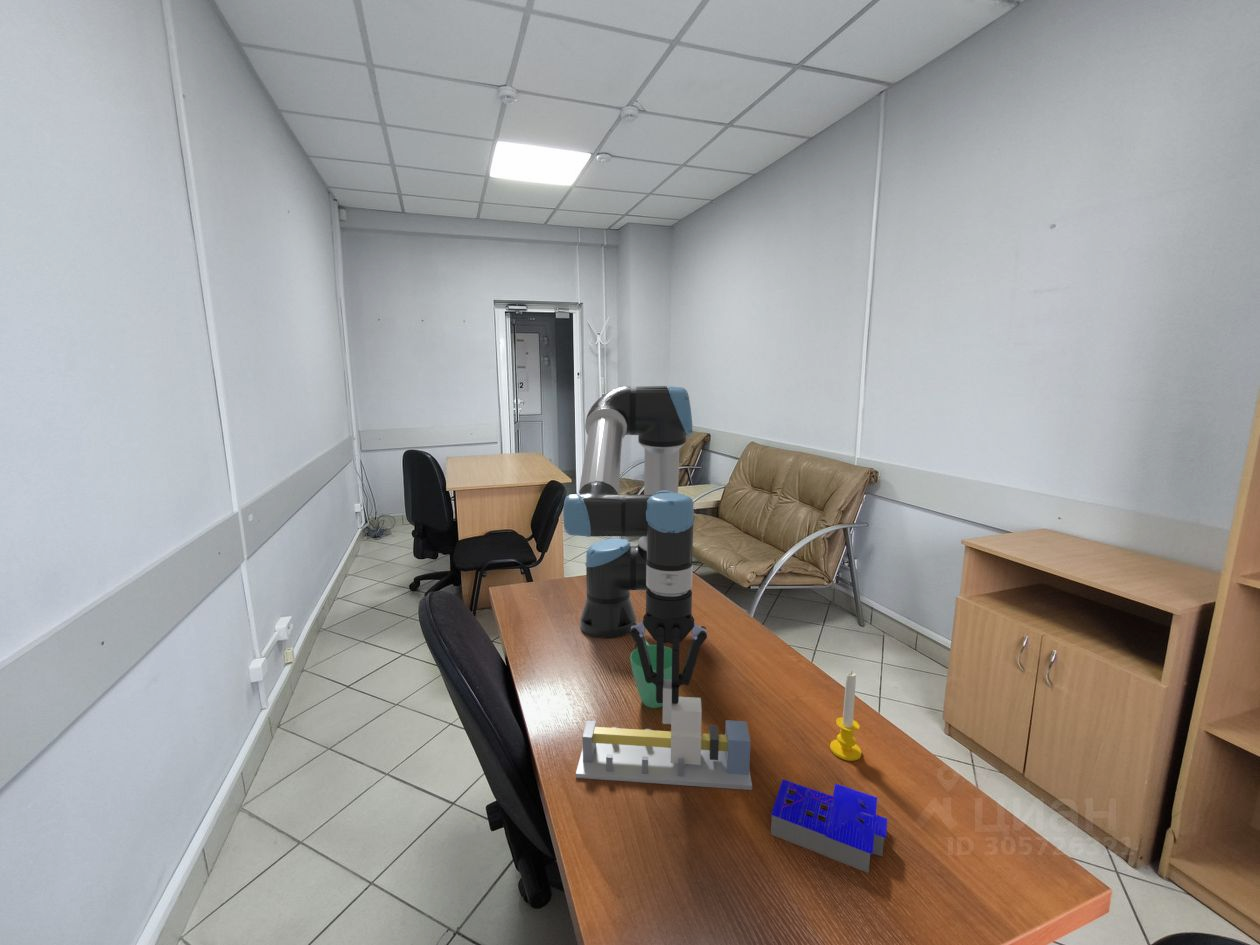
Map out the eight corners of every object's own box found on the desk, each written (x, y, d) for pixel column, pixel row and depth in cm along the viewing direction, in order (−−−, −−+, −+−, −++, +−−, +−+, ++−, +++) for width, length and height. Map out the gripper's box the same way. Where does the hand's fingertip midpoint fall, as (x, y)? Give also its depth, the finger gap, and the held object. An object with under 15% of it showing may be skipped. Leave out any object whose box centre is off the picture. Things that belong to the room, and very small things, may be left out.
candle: (826, 753, 94) (832, 673, 92) (834, 737, 99) (839, 660, 96) (857, 765, 91) (864, 682, 89) (864, 748, 96) (870, 668, 93)
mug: (685, 710, 107) (686, 664, 105) (639, 719, 104) (639, 672, 102) (659, 672, 120) (659, 631, 119) (617, 680, 117) (617, 638, 116)
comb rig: (575, 777, 88) (575, 740, 87) (586, 738, 98) (585, 703, 97) (752, 790, 86) (753, 751, 85) (744, 748, 96) (746, 713, 94)
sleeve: (670, 762, 89) (671, 712, 88) (671, 742, 94) (671, 694, 92) (700, 764, 89) (701, 713, 87) (699, 744, 94) (700, 696, 92)
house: (882, 882, 70) (886, 847, 70) (769, 837, 77) (771, 805, 76) (886, 821, 80) (889, 790, 79) (785, 786, 87) (787, 757, 86)
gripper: (627, 595, 83) (627, 730, 87) (710, 599, 82) (706, 735, 86) (631, 578, 91) (631, 703, 95) (708, 581, 90) (704, 707, 94)
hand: (667, 718), depth 91 cm, fingers closed
